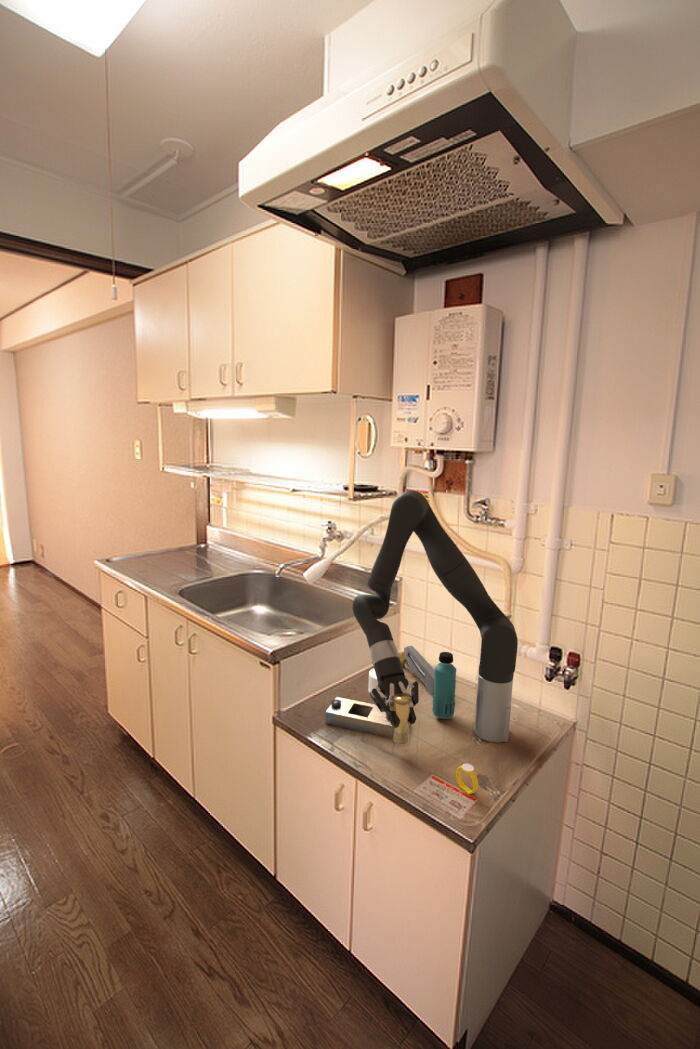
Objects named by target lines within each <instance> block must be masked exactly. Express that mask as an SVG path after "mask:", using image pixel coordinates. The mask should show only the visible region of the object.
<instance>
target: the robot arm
mask: <svg viewBox="0 0 700 1049" xmlns="http://www.w3.org/2000/svg"><path fill="white" fill-rule="evenodd" d="M413 533H414V534H415V535H416V536H417V537H418V538H417V539H419V541H420V542H421V544H422V547H423V549H424V551H425V552H424V553H425V554H426V556H427V559H428V562H429V564H430V567H431V568H432V570H433V572H434V573H435V575H436V577H437V578H438V580H439V582H440V583H441V584H442V585H443V587H444V588H445V589H446V590H447V592H448V593H449V594H450V596H452V598H454V599H455V600H456V601H457V602H458V603H459V604H461V605H462V607H464V608H465V609H466V610H467V613H469V615H470V616H471V618H472V619H473V622H474V623H475V624H476V625H475V626H477V628H478V630H479V632H480V636H481V641H480V655H479V665H478V672H477V673H478V674H477V687H476V688H477V690H476V702H475V714H474V715H475V716H474V730H473V731H474V733H475V735H476V736H477V737H478V738H480V739H482V740H484V741H487V742H490V743H503V742H504V743H508V742H509V735H510V734H509V733H510V725H511V724H510V723H511V722H510V721H511V711H512V710H511V709H512V708H511V707H512V698H513V697H512V696H513V684H514V675H515V672H516V665H517V656H518V645H519V642H518V641H519V640H518V634H517V632H516V628H515V626H514V624H513V623H512V621H511V620H510V618H508V617H507V615H506V614H505V613H504V612H503V611H502V610H501V609H500V608H499V606H498V605H497V603H495V601H494V600H493V599H492V598H491V596H490V595H489V593H488V592H487V589H486V587H485V586H484V584H483V583H482V580H481V579H480V577H479V576H478V574H477V573H476V571H475V569H474V568H473V566H472V565H471V563H470V562H469V561H468V559H467V558H466V556H465V555H464V554H463V552H462V551H461V549H460V548H459V547H458V546H457V544H456V543H455V541H454V540H453V539H452V538H451V536H450V535H449V533H448V532H447V531H446V530H445V529H444V527H443V526H442V524H441V523H440V521H439V519H438V517H437V516H436V514H435V511H434V510H433V508H432V507H431V505H430V502H429V501H428V500H427V498H426V496H425V495H424V494H422V493H421V492H419V491H418V490H417V491H416V490H413V489H411V490H406V491H404V492H402V493H400V494H399V495H398V496H396V497H395V499H394V500H393V501H392V503H391V508H390V514H389V519H388V522H387V528H386V531H385V535H384V538H383V542H382V543H381V548H380V549H379V552H378V554H377V556H376V560H375V561H374V563H373V566H372V568H371V571H370V574H369V576H368V578H367V579H368V580H367V585H368V588H370V590H372V591H373V592H375V594H363V593H361V594H358V595H356V596H355V597H354V598H353V601H352V606H351V607H352V612H353V616H354V618H355V619H356V621H357V623H358V625H359V626H360V628H361V630H362V632H363V634H364V635H365V637H366V640H367V645H368V647H369V652H370V659H371V663H372V667H373V668H374V670H375V674H376V677H377V681H378V687H377V688H374V689H372V691H371V692H370V693H369V695H370V697H371V699H372V700H373V702H374V703H375V704H374V705H377V707H378V708H379V710H380V712H386V713H388V715H389V719H390V722H391V725H392V726H394V728H397V727H399V722H398V718H397V715H396V712H395V711H394V701H393V695H394V694H396V693H407V694H409V692H408V691H407V689H409V690H410V696H411V697H412V701H411V702H410V716H409V726H410V725H414V724H416V721H417V715H416V713H415V710H414V707H415V706H416V705H417V704H419V698H420V696H419V695H420V694H419V691H420V690H419V682H418V681H417V680H415V681H410V680H408V678H407V677H406V676H405V675H406V674H405V669H404V667H402V664H401V660H400V657H399V656H400V654H399V651H398V649H397V646H396V644H395V641H394V638H393V635H392V632H391V628H390V626H389V625H388V624H387V623H385V622H383V621H380V620H381V619H383V618H385V617H386V615H387V614H388V612H389V610H390V602H391V594H392V588H393V584H394V582H395V580H396V577H397V575H398V572H399V569H400V567H401V566H400V565H401V563H402V561H403V560H402V558H403V555H404V552H405V549H406V547H407V544H408V543H409V540H410V538H411V536H412V534H413ZM408 687H409V688H408ZM380 692H381V693H383V694H384V695H385V696H386V698H385V701H384V699H383V698H381V696H380Z"/></svg>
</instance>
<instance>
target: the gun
mask: <svg viewBox="0 0 700 1049" xmlns="http://www.w3.org/2000/svg"><path fill="white" fill-rule="evenodd" d="M399 657H400V660H401V664H402V667H403V668H404V667H405V666H406V667H407V668H408V670H409V672H410V674H411V675H416V676H417V677H418V679H420V681H421V682H422V683H423V684H424V687H425V689H426V691H427V692H428V694H429V695H431V696H433V690H434V676H435V668H434V667H432V665H431V664H430V663H429V662H428V661H427V660H426V659H425V658H424V656H423V655H422V654H421V653H420V652H419V651H418V649H416V648H415V647H414V646H413V645H409V646H408V645H407V646H405V647H403V652H401V653H400V654H399Z"/></svg>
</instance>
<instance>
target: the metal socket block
mask: <svg viewBox="0 0 700 1049" xmlns="http://www.w3.org/2000/svg"><path fill="white" fill-rule="evenodd" d="M324 721H325V724H327V725H331V726H335V727H341V728H343V729H348V730H353V731H358V732H362V733H367V734H371V735H377V736H381V737H386V738H390V739H393V729H394V726H392V725H391V722H390V719H389V715H388V713H386V712H380V710H379V708H378V707H377V705H376V704H373V703H369V702H363V701H359V700H354V699H349V698H343V697H341V696H340V697H339V696H336V697H335V698H334V699H332V700H331V704H330V705H329V707H328V708H327V709H326V711H325V720H324Z"/></svg>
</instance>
